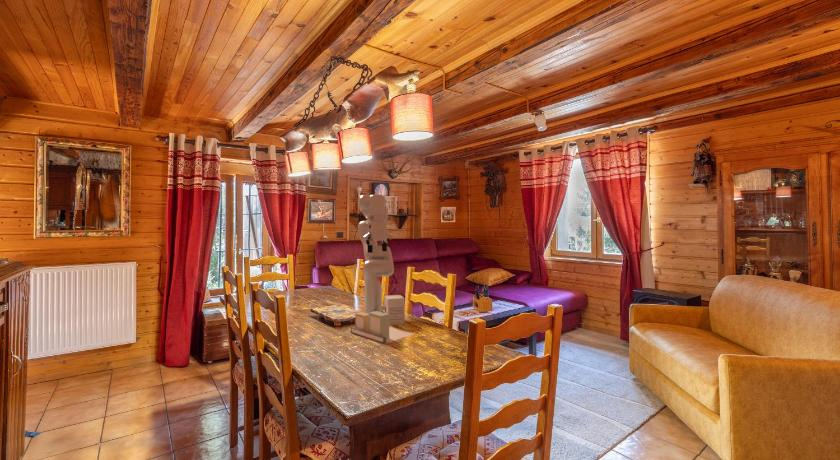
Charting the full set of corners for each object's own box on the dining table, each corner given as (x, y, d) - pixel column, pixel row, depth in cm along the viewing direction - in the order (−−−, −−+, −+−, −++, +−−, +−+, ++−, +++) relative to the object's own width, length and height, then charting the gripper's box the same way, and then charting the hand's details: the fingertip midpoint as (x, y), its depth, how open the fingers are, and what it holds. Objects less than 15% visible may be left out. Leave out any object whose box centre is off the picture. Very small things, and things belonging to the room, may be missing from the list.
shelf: (381, 327, 202) (381, 319, 202) (414, 336, 186) (414, 328, 186) (350, 335, 188) (350, 327, 188) (384, 347, 172) (384, 338, 172)
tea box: (376, 334, 186) (376, 310, 185) (389, 338, 179) (389, 314, 179) (368, 336, 182) (368, 312, 182) (381, 340, 176) (381, 316, 176)
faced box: (362, 330, 192) (361, 311, 192) (371, 333, 187) (371, 314, 187) (355, 332, 189) (355, 313, 189) (364, 335, 184) (364, 316, 184)
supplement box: (384, 323, 209) (383, 295, 208) (400, 322, 211) (400, 294, 211) (387, 328, 200) (387, 299, 199) (405, 326, 203) (404, 297, 202)
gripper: (368, 219, 194) (368, 253, 195) (394, 218, 207) (394, 251, 207) (359, 218, 199) (359, 252, 200) (384, 218, 212) (385, 250, 212)
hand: (377, 251), depth 204 cm, fingers open, 9 cm apart
